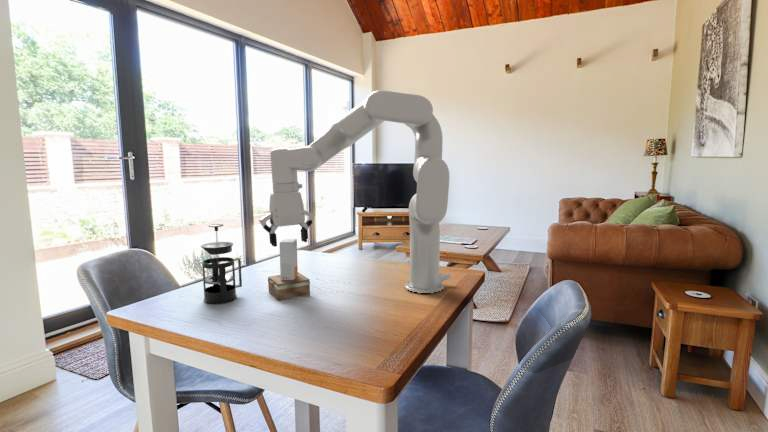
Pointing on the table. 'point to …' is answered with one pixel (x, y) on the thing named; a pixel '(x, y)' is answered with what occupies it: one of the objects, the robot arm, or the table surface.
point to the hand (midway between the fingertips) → (289, 243)
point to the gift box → (289, 287)
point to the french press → (220, 272)
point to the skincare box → (288, 259)
